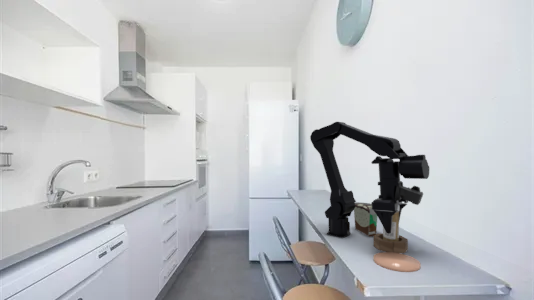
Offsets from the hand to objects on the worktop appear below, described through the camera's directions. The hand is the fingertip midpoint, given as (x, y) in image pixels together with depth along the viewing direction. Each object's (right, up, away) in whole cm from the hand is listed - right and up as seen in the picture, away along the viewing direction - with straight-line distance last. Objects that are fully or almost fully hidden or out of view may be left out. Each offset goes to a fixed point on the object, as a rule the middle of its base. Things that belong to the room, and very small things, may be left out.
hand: (392, 229), depth 78 cm
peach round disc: (-4, -5, -11) cm, 13 cm away
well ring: (0, -6, 0) cm, 6 cm away
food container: (-1, -6, +16) cm, 17 cm away
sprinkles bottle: (0, -6, 0) cm, 6 cm away
